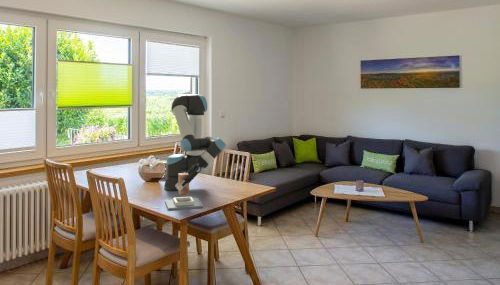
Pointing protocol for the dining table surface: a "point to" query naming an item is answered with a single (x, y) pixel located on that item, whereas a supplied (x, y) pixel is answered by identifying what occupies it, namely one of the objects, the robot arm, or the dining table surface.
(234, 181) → the dining table surface
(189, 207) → the baseplate
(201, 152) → the robot arm
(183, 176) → the pillar
